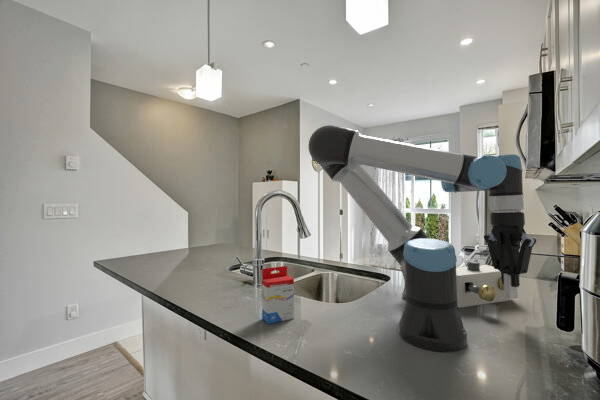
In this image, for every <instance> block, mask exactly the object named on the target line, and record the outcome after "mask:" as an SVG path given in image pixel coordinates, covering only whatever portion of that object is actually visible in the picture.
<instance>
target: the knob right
mask: <svg viewBox="0 0 600 400" xmlns="http://www.w3.org/2000/svg"><path fill="white" fill-rule="evenodd" d="M498 287H499V288H500V289H501V290H504V284H502V278H501V277H500V278H499V280H498Z"/></svg>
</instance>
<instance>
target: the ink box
mask: <svg viewBox="0 0 600 400" xmlns="http://www.w3.org/2000/svg"><path fill="white" fill-rule="evenodd" d="M274 271H277V272H274ZM261 272H262V275H261V276H262V277H261V278H262V279H261V318H262V320H264V322H266V324H268V325H270V324H275V323H279V322H283V321H284V322H285V321H288V320H293V319H295V285H294V284H295V282H294V281H295V279H294V278H293V277H292V276H290V275H288V266H287V265H282V266H276V267H275V266H274V267H267V268H266V267H265V268H263V269H262V271H261ZM272 272H274V273H272Z"/></svg>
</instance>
